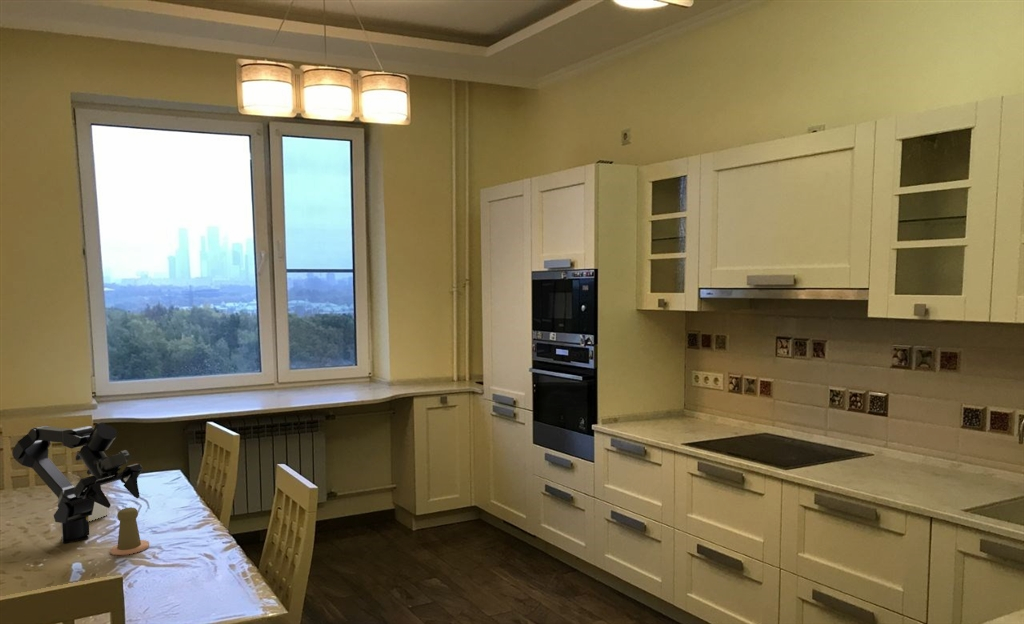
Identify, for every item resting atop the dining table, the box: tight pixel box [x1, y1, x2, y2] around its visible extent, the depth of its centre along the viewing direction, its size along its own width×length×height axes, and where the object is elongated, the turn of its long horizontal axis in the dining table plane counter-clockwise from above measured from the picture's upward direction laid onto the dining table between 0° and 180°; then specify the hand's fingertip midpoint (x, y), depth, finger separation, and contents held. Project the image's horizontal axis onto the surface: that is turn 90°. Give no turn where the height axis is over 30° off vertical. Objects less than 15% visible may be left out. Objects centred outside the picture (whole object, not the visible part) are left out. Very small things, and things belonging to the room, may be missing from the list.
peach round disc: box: [109, 539, 150, 556], centre depth 202 cm, size 10×10×1 cm
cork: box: [117, 507, 141, 550], centre depth 202 cm, size 6×6×11 cm
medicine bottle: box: [86, 494, 108, 522], centre depth 231 cm, size 7×7×12 cm
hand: (124, 502), depth 202 cm, fingers open, 9 cm apart
